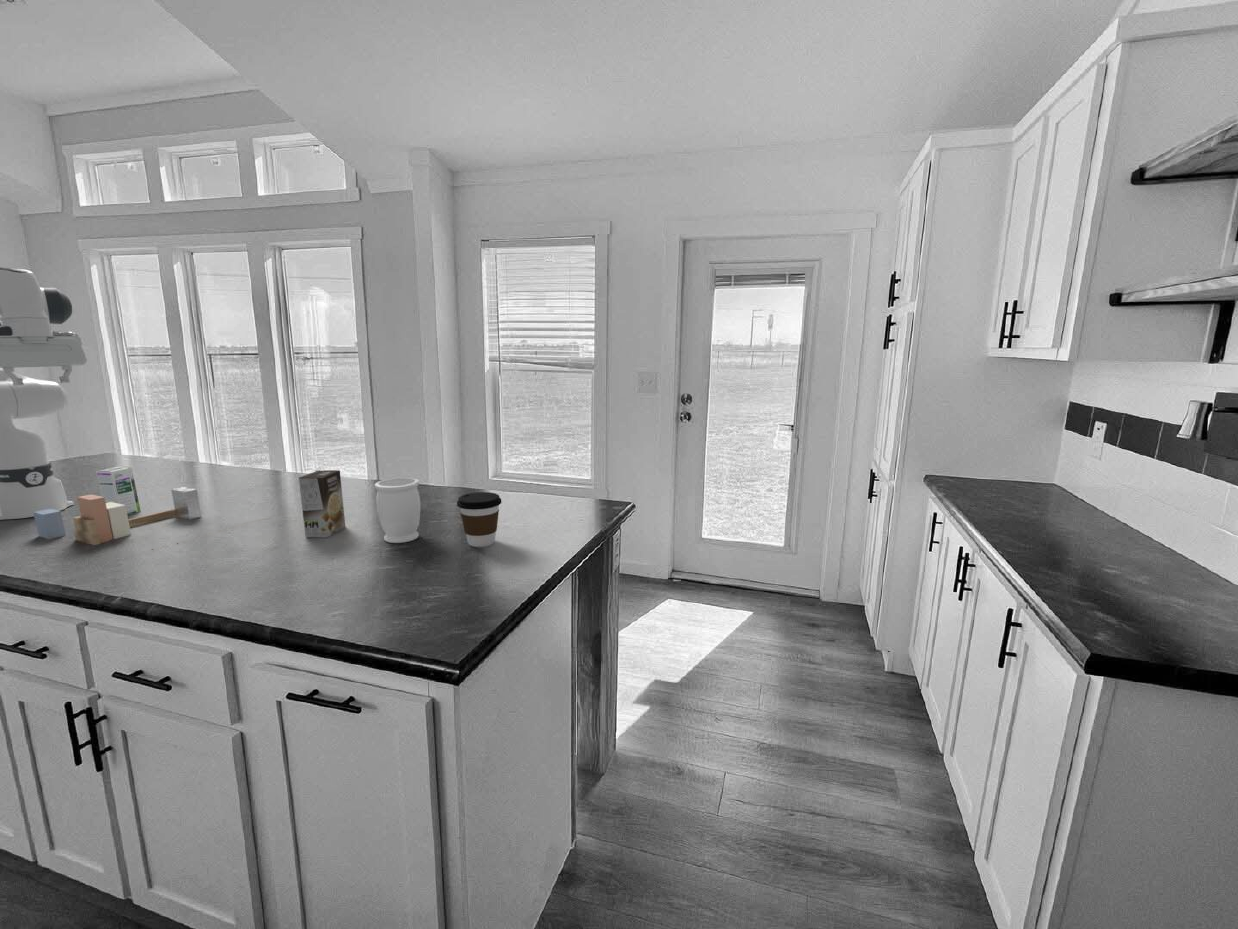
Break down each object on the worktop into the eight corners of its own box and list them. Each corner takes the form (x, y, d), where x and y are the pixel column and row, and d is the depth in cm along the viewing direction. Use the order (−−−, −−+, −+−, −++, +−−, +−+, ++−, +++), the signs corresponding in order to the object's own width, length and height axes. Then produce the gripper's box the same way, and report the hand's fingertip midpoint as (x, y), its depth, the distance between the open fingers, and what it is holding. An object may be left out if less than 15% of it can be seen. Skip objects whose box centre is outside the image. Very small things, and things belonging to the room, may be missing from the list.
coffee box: (328, 538, 149) (322, 477, 145) (304, 537, 149) (297, 477, 145) (346, 526, 158) (340, 469, 154) (323, 526, 158) (317, 469, 154)
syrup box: (121, 520, 163) (112, 471, 160) (105, 519, 164) (95, 470, 161) (141, 515, 168) (132, 466, 165) (125, 513, 170) (116, 466, 167)
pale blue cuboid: (39, 540, 147) (33, 512, 146) (56, 536, 150) (50, 508, 149) (49, 543, 145) (43, 514, 144) (66, 538, 148) (60, 511, 147)
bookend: (176, 516, 163) (171, 489, 161) (187, 513, 166) (183, 487, 164) (189, 519, 160) (185, 491, 159) (201, 516, 163) (196, 489, 161)
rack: (76, 543, 145) (70, 517, 143) (185, 516, 167) (181, 493, 165) (95, 548, 141) (89, 521, 140) (203, 520, 163) (199, 496, 162)
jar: (431, 535, 151) (427, 479, 148) (401, 547, 142) (396, 489, 138) (401, 529, 155) (396, 475, 152) (370, 541, 146) (365, 484, 143)
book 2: (99, 535, 148) (93, 505, 146) (116, 531, 151) (110, 501, 149) (114, 539, 145) (108, 508, 143) (131, 534, 148) (125, 505, 146)
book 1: (86, 538, 145) (77, 497, 143) (99, 535, 148) (91, 494, 145) (99, 542, 142) (90, 500, 140) (112, 539, 145) (104, 497, 143)
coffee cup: (450, 547, 142) (447, 500, 139) (475, 533, 152) (473, 489, 149) (488, 553, 138) (485, 505, 135) (511, 538, 148) (509, 493, 145)
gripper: (73, 332, 161) (85, 382, 164) (-31, 332, 143) (-16, 387, 145) (84, 330, 158) (96, 380, 161) (-21, 329, 140) (-5, 385, 143)
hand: (42, 384), depth 153 cm, fingers open, 8 cm apart
